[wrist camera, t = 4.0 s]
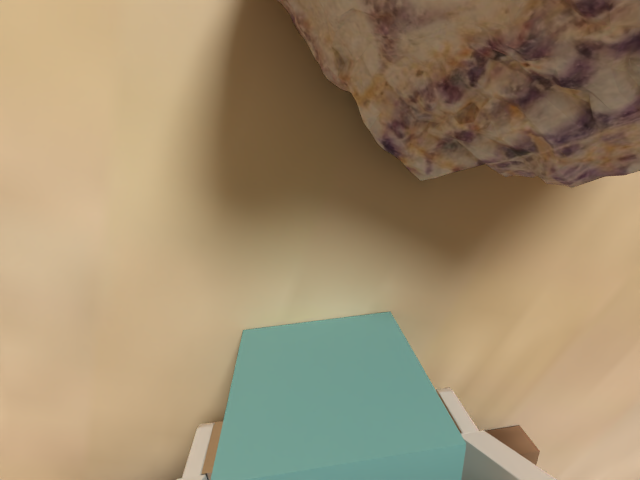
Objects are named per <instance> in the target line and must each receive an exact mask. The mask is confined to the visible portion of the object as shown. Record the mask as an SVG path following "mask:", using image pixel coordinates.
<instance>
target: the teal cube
mask: <svg viewBox="0 0 640 480" xmlns="http://www.w3.org/2000/svg"><path fill="white" fill-rule="evenodd" d="M465 450H466V442H465V441H464V439H463V437H462V435H461V434H460V432H459V430H458V428H457V427H456V425H455V423H454V421H453V420H452V418H451V416H450V415H449V413H448V411H447V409H446V408H445V406H444V404H443V402H442V401H441V399H440V397H439V395H438V394H437V392H436V390H435V388H434V387H433V385H432V383H431V381H430V380H429V378H428V376H427V375H426V373H425V371H424V369H423V368H422V366H421V364H420V362H419V361H418V359H417V357H416V355H415V354H414V352H413V350H412V348H411V347H410V345H409V343H408V341H407V340H406V338H405V336H404V335H403V333H402V331H401V329H400V328H399V326H398V324H397V322H396V321H395V319H394V317H393V315H392V314H391V312H384V313H376V314H368V315H360V316H352V317H344V318H336V319H328V320H320V321H312V322H304V323H296V324H288V325H280V326H272V327H264V328H256V329H248V330H243V334H242V338H241V343H240V347H239V352H238V356H237V361H236V366H235V370H234V375H233V379H232V384H231V388H230V393H229V397H228V402H227V407H226V411H225V416H224V420H223V425H222V429H221V434H220V439H219V443H218V448H217V452H216V457H215V461H214V466H213V471H212V475H211V480H461V478H462V471H463V464H464V457H465Z"/></svg>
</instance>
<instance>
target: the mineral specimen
mask: <svg viewBox="0 0 640 480" xmlns="http://www.w3.org/2000/svg"><path fill="white" fill-rule="evenodd" d="M277 1H279V2H280V3H281V4H282V5H283V6H284V8H285V9H286V10H287V11H288V13H289V14H290V16H291V18H292V21H293V23H294V25H295V27H296V28H297V30H298V31H299V33H300V34H301V36H302V37H303V38H304V39H305V41H306V43H307V44H308V46H309V48H310V50H311V52H312V54H313V56H314V59H315V60H316V61H317V62H318V63H319V65H320V67H321V70H322V72H323V74H324V75H325V77H326V78H327V80H329V81H330V82H332V83H333V84H335V85H336V86H338V87H339V88H340V89H342V90H345V91H348V92H350V93H352V95H353V97H354V99H355V100H356V102H357V105H358V108H359V111H360V114H361V117H362V120H363V122H364V124H365V125H366V127H367V128H368V129H369V130H370V132H371V134H372V136H373V137H374V139H375V141H376V142H377V144H378V145H380V146H381V147H382V148H383V149H384V150H385V151H387V152H389V153H391V154H392V155H394V156H395V157H396V158H398V159H399V160H400V161H402V163H403V164H404V165H405V166H406V168H407V169H408V170H409V171H411V172H412V173H413V174H414V175H415V176H416V177H417V178H418V179H419V180H420V181H422V180H427V179H432V178H437V177H440V176H443V175H446V174H449V173H453V172H456V171H460V170H464V169H468V168H471V167H475V166H479V165H483V164H486V165H488V166H489V167H490V168H492V169H493V170H495V171H497V172H498V173H499V174H501V175H503V176H505V177H507V176H513V175H519V176H526V177H535V176H539V177H540V178H541V179H542V180H543V181H544V182H546V183H547V184H555V185H565V186H569V187H575V186H578V185H581V184H584V183H587V182H590V181H593V180H596V179H599V178H602V177H604V176H619V175H626V174H630V173H634V172H637V171H640V0H277Z"/></svg>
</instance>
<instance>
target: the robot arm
mask: <svg viewBox="0 0 640 480" xmlns="http://www.w3.org/2000/svg"><path fill="white" fill-rule="evenodd" d="M436 392H437V394H438V395H439V397H440V399H441V401H442V402H443V404H444V406H445V408H446V409H447V411H448V413H449V415H450V416H451V418H452V420H453V421H454V423H455V425H456V427H457V428H458V430H459V432H460V434H461V435H462V437H463V439H464V441H465V442H466V450H465V457H464V464H463V471H462V478H461V480H557V479H556V478H554V477H553V476H551V475H550V474H548V473H547V472H545V471H544V470H542V469H541V468H539V467H538V466H536V465H535V464H533V463H532V462H530V461H529V460H527V459H526V458H524V457H523V456H521V455H520V454H518V453H517V452H515V451H514V450H512V449H511V448H509V447H508V446H506V445H505V444H503V443H502V442H500V441H499V440H497V439H496V438H494V437H493V436H491V435H490V434H488V433H487V432H485V431H484V430H481V431H479V430H478V428H477V427H476V425H475V424H474V422H473V421H472V419H471V418H470V416H469V415H468V413H467V411H466V410H465V408H464V407H463V405H462V404H461V402H460V401H459V399H458V398H457V396H456V395H455V393H454V391H453V390H452V389H451V388H443V389H437V390H436ZM222 425H223V421H219V422H212V423H204V424H200V425H199V426H198V428H197V430H196V433H195V436H194V439H193V443H192V446H191V449H190V452H189V456H188V459H187V462H186V466H185V469H184V472H183V475H182V478H180V479H176V480H211V475H212V471H213V466H214V461H215V457H216V452H217V448H218V443H219V439H220V434H221V429H222Z"/></svg>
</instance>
